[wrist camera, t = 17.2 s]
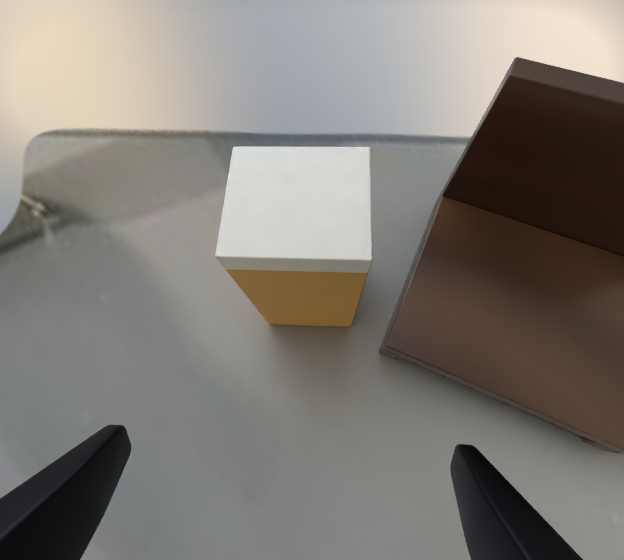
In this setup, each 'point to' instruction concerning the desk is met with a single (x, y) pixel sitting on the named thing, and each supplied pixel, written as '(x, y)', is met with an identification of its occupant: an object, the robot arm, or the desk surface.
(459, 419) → the desk surface
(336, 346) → the desk surface
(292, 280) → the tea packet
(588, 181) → the shelf
